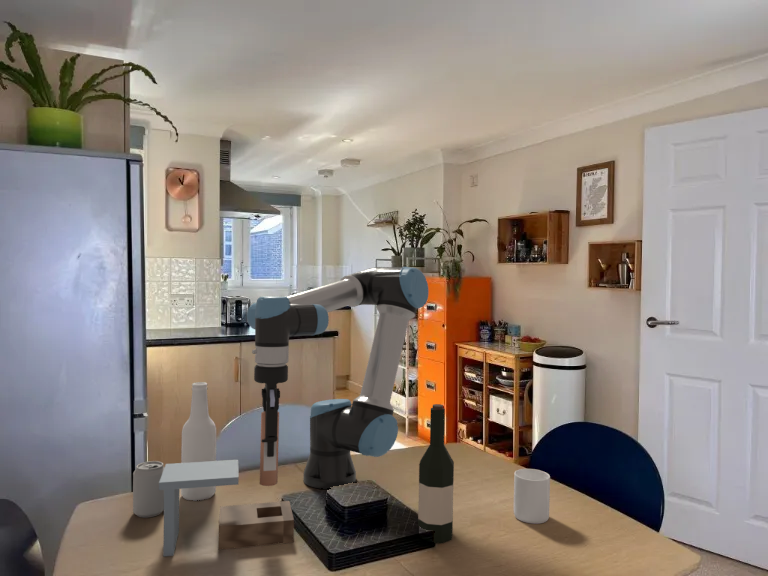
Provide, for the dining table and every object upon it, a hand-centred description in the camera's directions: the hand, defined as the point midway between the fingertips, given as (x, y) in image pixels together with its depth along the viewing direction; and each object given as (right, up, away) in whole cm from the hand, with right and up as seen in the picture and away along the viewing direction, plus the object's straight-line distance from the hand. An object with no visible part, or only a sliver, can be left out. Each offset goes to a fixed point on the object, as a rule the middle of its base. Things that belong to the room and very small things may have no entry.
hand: (269, 466), depth 129 cm
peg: (0, -4, 0) cm, 4 cm away
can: (-32, -15, +11) cm, 37 cm away
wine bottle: (+38, -16, +1) cm, 41 cm away
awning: (-15, -15, -3) cm, 21 cm away
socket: (-3, -15, 0) cm, 16 cm away
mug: (+63, -17, +14) cm, 66 cm away
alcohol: (-23, -15, +22) cm, 36 cm away
